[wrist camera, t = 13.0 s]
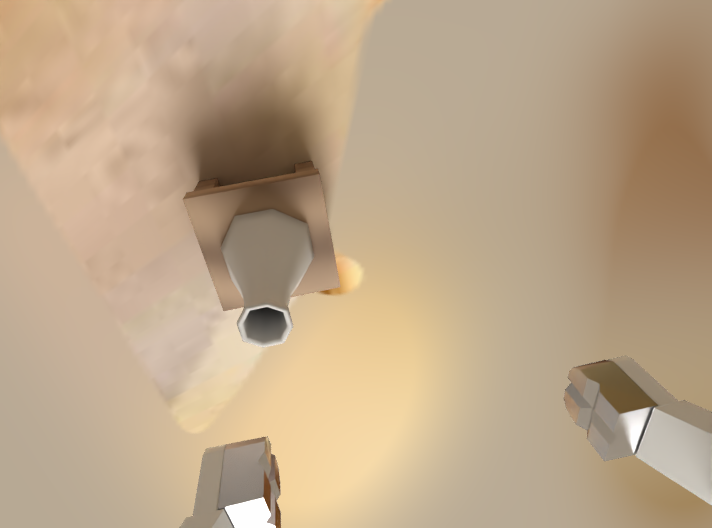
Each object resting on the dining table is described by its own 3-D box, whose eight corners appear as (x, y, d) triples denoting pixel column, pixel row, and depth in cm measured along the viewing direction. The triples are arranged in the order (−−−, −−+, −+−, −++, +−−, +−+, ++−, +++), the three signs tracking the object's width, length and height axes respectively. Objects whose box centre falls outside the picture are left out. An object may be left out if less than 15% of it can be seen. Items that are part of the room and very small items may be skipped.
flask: (222, 201, 30) (200, 266, 22) (320, 212, 32) (336, 277, 23) (219, 286, 33) (198, 372, 25) (308, 292, 35) (318, 374, 26)
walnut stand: (195, 179, 34) (182, 199, 30) (314, 157, 35) (319, 174, 30) (229, 281, 39) (223, 311, 35) (333, 260, 40) (340, 286, 35)
